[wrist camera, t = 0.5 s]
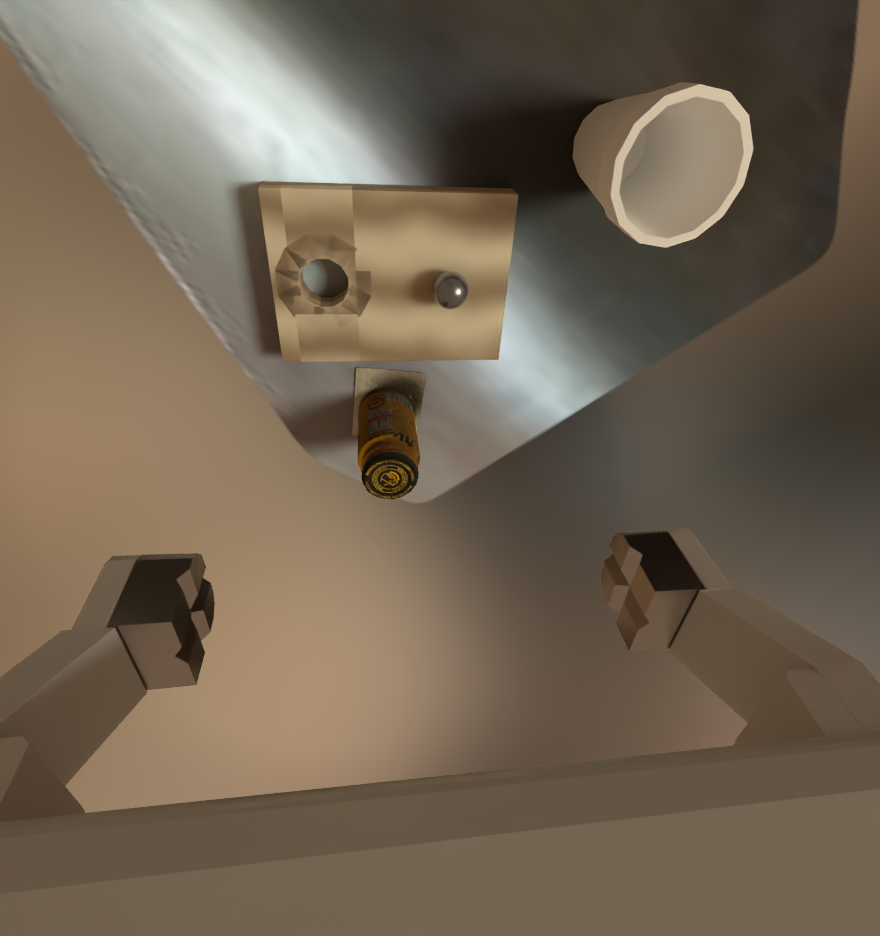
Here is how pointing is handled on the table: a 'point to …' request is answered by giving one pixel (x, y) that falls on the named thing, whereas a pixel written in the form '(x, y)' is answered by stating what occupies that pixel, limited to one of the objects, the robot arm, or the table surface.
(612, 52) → the table surface
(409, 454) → the condiment
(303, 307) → the wooden board
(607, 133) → the foam cup
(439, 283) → the ball
